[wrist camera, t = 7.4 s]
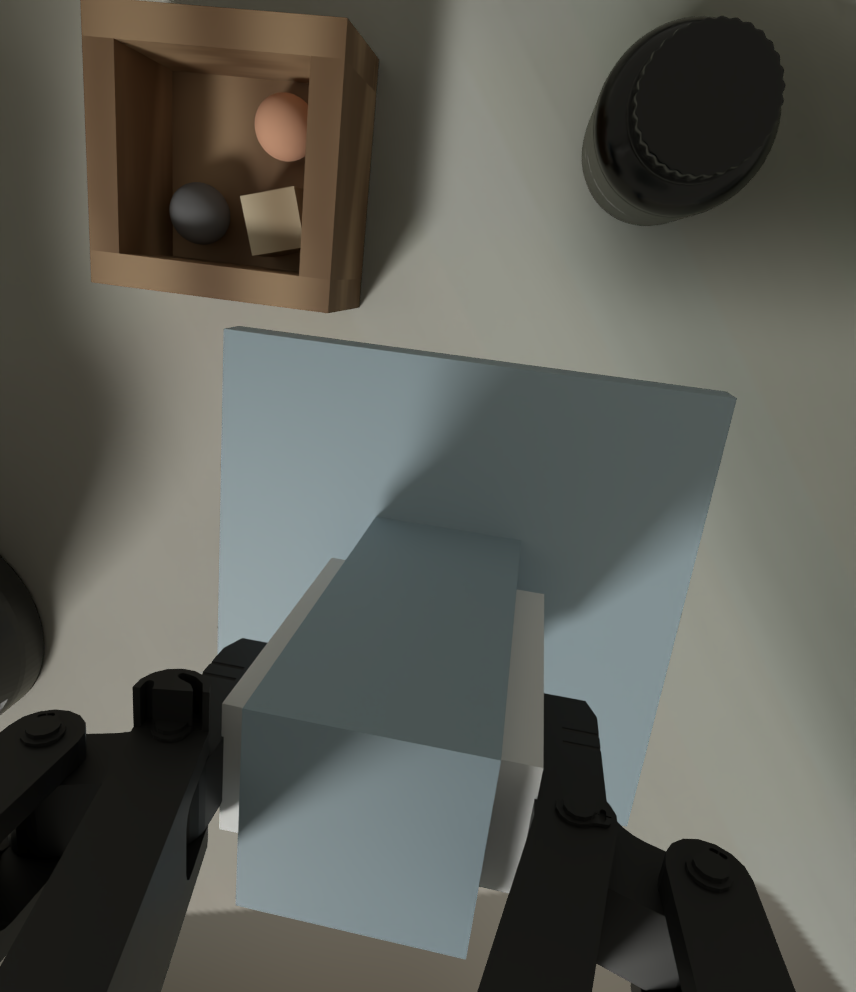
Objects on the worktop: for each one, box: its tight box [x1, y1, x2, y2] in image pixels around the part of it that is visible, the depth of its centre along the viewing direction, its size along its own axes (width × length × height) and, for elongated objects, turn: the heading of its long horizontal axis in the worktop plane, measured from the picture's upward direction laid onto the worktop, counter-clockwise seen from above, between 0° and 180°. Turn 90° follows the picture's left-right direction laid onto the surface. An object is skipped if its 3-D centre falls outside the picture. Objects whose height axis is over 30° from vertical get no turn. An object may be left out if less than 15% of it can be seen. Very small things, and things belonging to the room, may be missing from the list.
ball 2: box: [255, 92, 308, 162], centre depth 34 cm, size 3×3×3 cm
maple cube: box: [240, 186, 304, 257], centre depth 36 cm, size 3×3×3 cm
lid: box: [218, 326, 737, 959], centre depth 16 cm, size 13×13×10 cm
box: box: [80, 0, 379, 313], centre depth 35 cm, size 12×12×6 cm
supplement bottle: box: [582, 16, 785, 226], centre depth 29 cm, size 7×7×12 cm
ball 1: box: [169, 182, 230, 245], centre depth 36 cm, size 3×3×3 cm
